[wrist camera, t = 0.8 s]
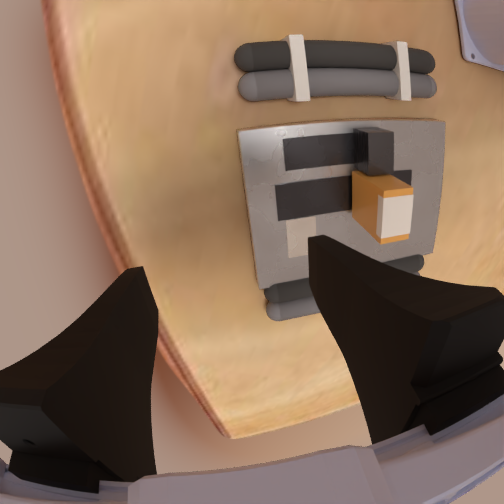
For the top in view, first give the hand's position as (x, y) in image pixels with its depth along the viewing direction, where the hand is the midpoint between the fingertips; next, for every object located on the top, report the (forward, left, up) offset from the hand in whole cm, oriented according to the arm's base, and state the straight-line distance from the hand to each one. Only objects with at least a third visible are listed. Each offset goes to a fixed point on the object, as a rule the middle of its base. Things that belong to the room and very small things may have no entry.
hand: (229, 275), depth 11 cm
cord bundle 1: (-9, -7, -10) cm, 15 cm away
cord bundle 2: (-9, +9, -10) cm, 16 cm away
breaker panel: (-9, +2, -10) cm, 14 cm away
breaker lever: (-10, +1, -8) cm, 13 cm away
